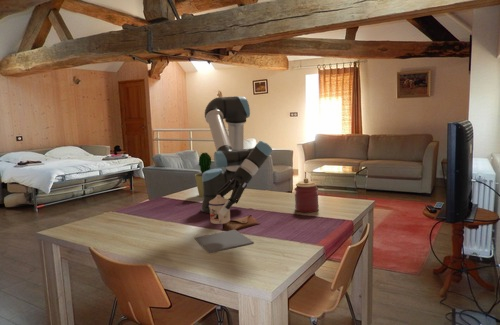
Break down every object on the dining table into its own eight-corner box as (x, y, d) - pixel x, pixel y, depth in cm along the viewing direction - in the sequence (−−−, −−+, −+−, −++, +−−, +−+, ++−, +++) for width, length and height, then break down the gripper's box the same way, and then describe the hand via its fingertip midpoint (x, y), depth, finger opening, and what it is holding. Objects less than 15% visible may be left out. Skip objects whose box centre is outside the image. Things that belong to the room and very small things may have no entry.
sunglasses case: (232, 232, 176) (227, 218, 177) (225, 236, 181) (221, 223, 183) (262, 223, 186) (257, 211, 188) (254, 228, 192) (250, 215, 194)
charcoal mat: (194, 238, 169) (194, 237, 169) (235, 230, 178) (235, 229, 178) (209, 253, 151) (209, 251, 151) (253, 243, 160) (253, 241, 160)
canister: (311, 205, 216) (311, 175, 213) (323, 210, 204) (322, 178, 201) (291, 208, 212) (290, 177, 209) (301, 214, 200) (300, 181, 197)
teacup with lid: (206, 221, 165) (204, 195, 163) (223, 217, 170) (221, 192, 169) (220, 227, 155) (219, 199, 154) (238, 222, 161) (237, 195, 159)
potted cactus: (209, 199, 245) (206, 153, 240) (191, 197, 253) (188, 152, 249) (223, 193, 257) (220, 150, 253) (206, 192, 266) (203, 150, 262)
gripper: (264, 180, 156) (232, 222, 152) (240, 173, 178) (212, 210, 173) (252, 169, 153) (219, 212, 149) (229, 163, 175) (200, 200, 170)
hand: (215, 211), depth 161 cm, fingers closed on teacup with lid, 12 cm apart
